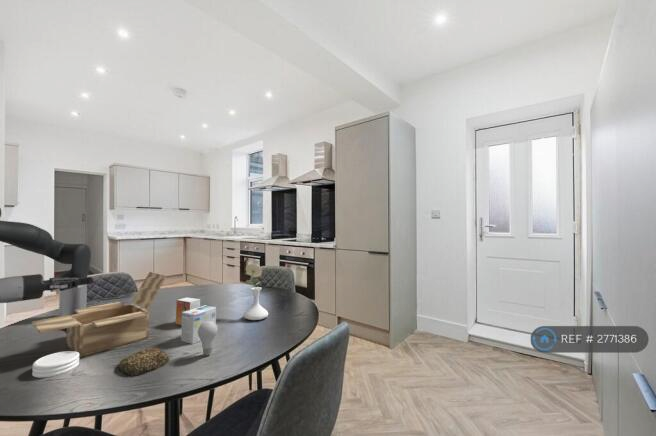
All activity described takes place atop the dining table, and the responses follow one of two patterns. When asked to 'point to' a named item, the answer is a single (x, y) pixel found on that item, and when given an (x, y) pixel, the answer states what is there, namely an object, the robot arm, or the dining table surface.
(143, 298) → the carton flap
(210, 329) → the lightbulb
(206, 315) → the light bulb box
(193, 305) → the small box
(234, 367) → the dining table surface
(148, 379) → the dining table surface
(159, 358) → the bread roll
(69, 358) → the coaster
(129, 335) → the carton
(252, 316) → the flower in vase
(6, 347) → the dining table surface
